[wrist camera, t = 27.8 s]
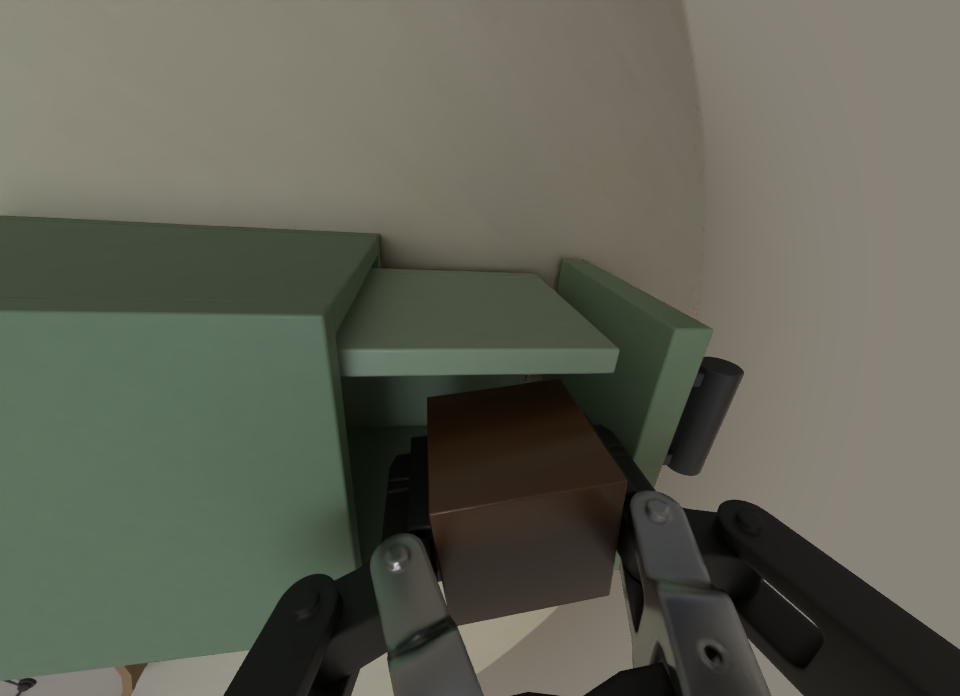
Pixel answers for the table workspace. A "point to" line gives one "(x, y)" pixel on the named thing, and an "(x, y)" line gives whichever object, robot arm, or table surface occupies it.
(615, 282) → the drawer
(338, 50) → the table surface
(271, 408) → the cabinet
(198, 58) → the table surface
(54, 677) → the alarm clock
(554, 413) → the block
